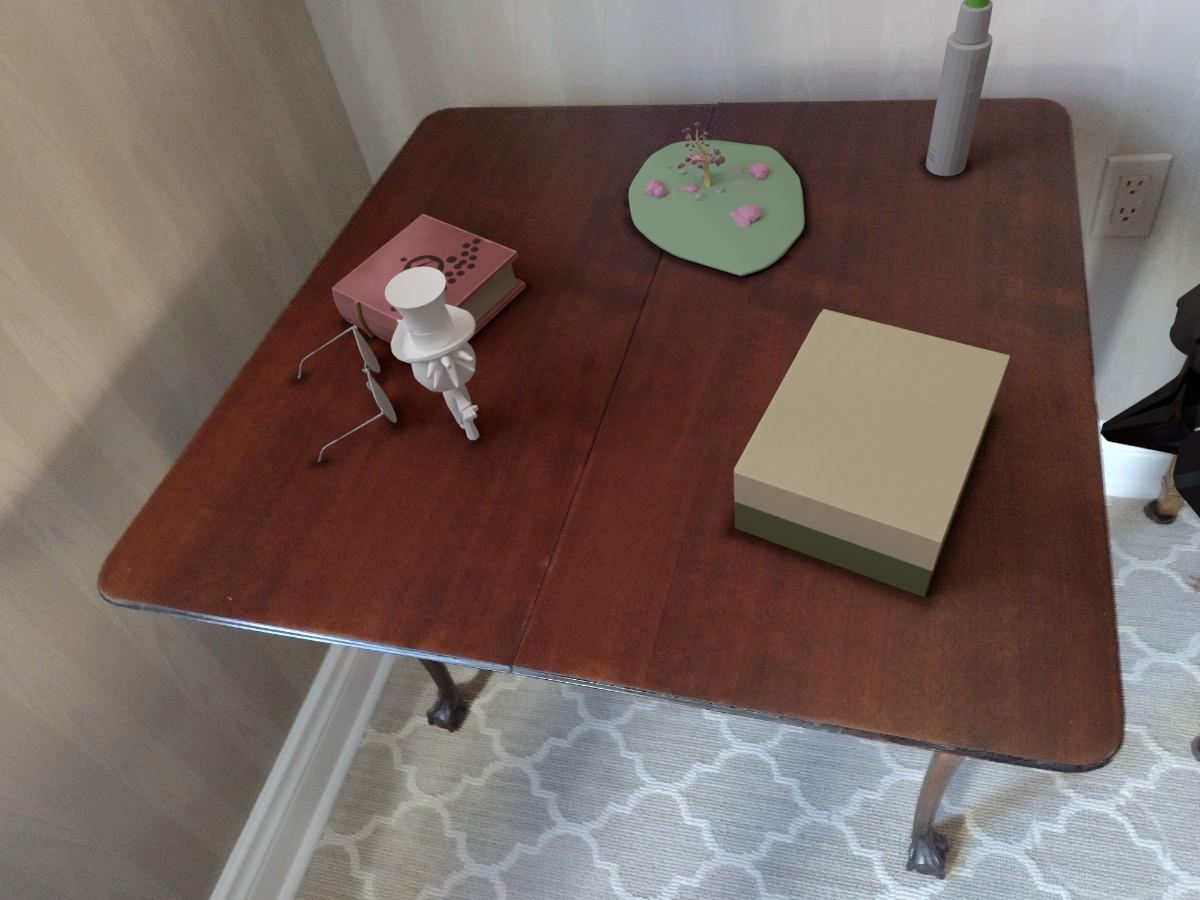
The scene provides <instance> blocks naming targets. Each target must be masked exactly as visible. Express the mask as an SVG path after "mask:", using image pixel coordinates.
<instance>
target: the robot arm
mask: <svg viewBox="0 0 1200 900" xmlns="http://www.w3.org/2000/svg"><path fill="white" fill-rule="evenodd" d="M1175 306H1176V309H1177V310H1176V313H1175V317H1174V322H1173V324H1171V325H1172V326H1171V327H1170V329H1169V333H1168V334H1169V339H1170V342H1171V344H1172V346H1173V347H1174V348H1175V349H1176V350H1177V351H1178V352H1180V353H1182V354H1183V355H1184V356H1186V358H1185V359H1184V363H1183V365H1182V367H1181V369H1180V371H1179V373H1178V374H1177V375H1176V376H1175V377H1174V378H1172V379H1171V380H1170V381H1168V382H1166V383H1165V384H1164V385H1162V386H1161V387H1159V388H1157V389H1156V390H1155V391H1153V392H1152V393H1150V394H1148V395H1147V396H1145V397H1143V398H1141V399H1140V400H1139V401H1137V402H1135V403H1134V404H1132V405H1130V406H1129V407H1127V408H1125V409H1124V410H1123V411H1121V412H1119V413H1117V414H1115V415H1114V416H1113V417H1111V418H1110V419H1108V420H1106V421H1105V422H1103V423H1102V425H1101V428H1100V435H1101V436H1102V438H1104V440H1105V441H1106V442H1108V443H1113V444H1119V445H1124V446H1128V447H1129V446H1130V447H1134V448H1139V449H1144V450H1150V451H1154V452H1159V453H1165V454H1170V455H1174V456H1176V458H1175V463H1174V468H1173V473H1172V479H1173V484H1174V487H1175V490H1176V491H1177V493H1178V494H1179V495H1180V496H1181V497H1182V499H1184V501H1185V502H1186V504H1187V505H1189V507H1190V508H1191V510H1192V511H1193V512H1194V513H1195V514H1196V515H1197V517H1198V518H1199V519H1200V283H1198V284H1197V285H1195V286H1193V287H1192V288H1191V289H1189V290H1188V291H1187V292H1186V293H1184V294H1183V295H1181V296H1179V298H1177V301H1176V304H1175Z"/></svg>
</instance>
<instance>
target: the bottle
mask: <svg viewBox="0 0 1200 900" xmlns="http://www.w3.org/2000/svg"><path fill="white" fill-rule="evenodd" d="M993 5H994V3H993V1H992V0H963V1H962V2H961V3H960V7H959V12H958V14H957V15H958V16H957V21H956V25H955V31H953V32H951V33H950V35H948V37H947V42H946V47H945V52H944V59H943V64H942V68H941V69H942V70H941V75H940V80H939V85H938V91H937V97H936V103H935V104H936V105H935V108H934V109H935V110H934V115H933V121H932V126H931V130H930V131H931V132H930V138H929V143H928V149H927V154H926V160H925V167H926V169H927V170H928V171H929V172H930V173H931V174H934V175H935V176H940V177H953V176H956V175H959V174H961V173H962V172H964V170H965V168H966V165H967V161H968V157H969V151H970V148H971V142H972V137H973V133H974V128H975V124H976V119H977V115H978V110H979V106H980V101H981V98H982V97H981V96H982V91H983V86H984V83H985V77H986V73H987V70H988V69H987V68H988V64H989V59H990V55H991V51H992V45H993V36H992V35H991V34H990V33H989V30H990V25H991V21H992V12H993Z"/></svg>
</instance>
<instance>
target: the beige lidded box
mask: <svg viewBox="0 0 1200 900" xmlns="http://www.w3.org/2000/svg"><path fill="white" fill-rule="evenodd" d="M1010 358H1011V355H1010V354H1006V353H1001V352H999V351H998V352H997V351H994V350H990V349H985V348H981V347H978V346H974V345H970V344H965V343H961V342H958V341H954V340H950V339H945V338H941V337H937V336H933V335H929V334H926V333H922V332H918V331H913V330H910V329H906V328H901V327H897V326H895V325H890V324H885V323H881V322H878V321H873V320H869V319H866V318H863V317H857V316H853V315H850V314H846V313H842V312H838V311H834V310H830V309H826V308H823V309H822V311H821V312H819V314H818V315H817V317H816V319H815V321H814V323H813V325H812V327H811V328H810V330H809V332H808V334H807V335H806V338H805V339H804V341H803V343H802V345H801V347H800V348H799V350H798V352H797V354H796V356H795V358H794V359H793V361H792V363H791V365H790V367H789V368H788V369H787V372H786V374H785V375H784V377H783V378H782V381H781V383H780V385H778V389H777V390H776V392H775V394H774V395H773V398H772V399H771V401H770V403H769V405H768V407H767V408H766V410H765V412H764V413H763V416H762V417H761V419H760V421H759V422H758V424H757V426H756V428H755V430H754V432H753V433H752V436H751V437H750V440H748V443H747V445H746V447H745V448H744V449H743V452H742V454H741V455H740V458H739V459H738V461H737V463H736V464H735V466H734V468H733V497H734V499H733V501H734V528H735V529H736V530H738V531H741V532H744V533H747V534H749V535H752V536H755V537H758V538H761V539H763V540H765V541H768V542H771V543H773V544H776V545H779V546H782V547H785V548H787V549H790V550H793V551H795V552H798V553H802V554H803V555H806V556H809V557H812V558H815V559H818V560H820V561H823V562H826V563H828V564H832V565H834V566H837V567H840V568H842V569H845V570H848V571H851V572H854V573H856V574H859V575H862V576H864V577H867V578H870V579H872V580H875V581H878V582H881V583H884V584H885V585H889V586H891V587H895V588H897V589H900V590H903V591H904V592H905V591H906V592H908V593H910V594H913V595H916V596H919V597H921V598H925V597H926V595H927V592H928V590H929V587H930V584H931V581H932V579H933V576H934V573H935V570H936V568H937V565H938V562H939V559H940V556H941V554H942V552H943V549H944V546H945V543H946V541H947V539H948V535H949V532H950V530H951V526H952V524H953V522H954V518H955V515H956V513H957V510H958V507H959V505H960V502H961V499H962V497H963V495H964V491H965V490H966V489H965V488H966V486H967V483H968V480H969V477H970V475H971V472H972V470H973V466H974V463H975V461H976V458H977V456H978V453H979V451H980V447H981V445H982V442H983V439H984V437H985V434H986V432H987V428H988V426H989V423H990V420H991V417H992V415H993V412H994V408H995V405H996V402H997V399H998V396H999V393H1000V389H1001V386H1002V384H1003V380H1004V377H1005V374H1006V372H1007V368H1008V366H1009V363H1010V362H1009V361H1010Z"/></svg>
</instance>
